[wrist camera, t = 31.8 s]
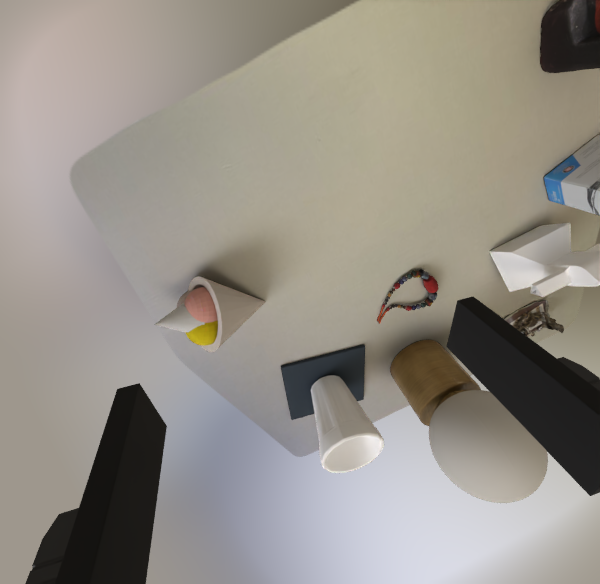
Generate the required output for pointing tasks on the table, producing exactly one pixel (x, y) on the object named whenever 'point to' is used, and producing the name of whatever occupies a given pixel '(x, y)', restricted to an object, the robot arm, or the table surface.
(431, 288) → the necklace
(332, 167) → the table surface
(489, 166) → the table surface
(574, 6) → the statue
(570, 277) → the white angular piece
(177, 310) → the toy
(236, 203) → the table surface
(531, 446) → the lamp
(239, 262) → the table surface
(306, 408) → the mat
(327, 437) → the cup
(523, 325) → the brown sculpture on base
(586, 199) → the ink box
